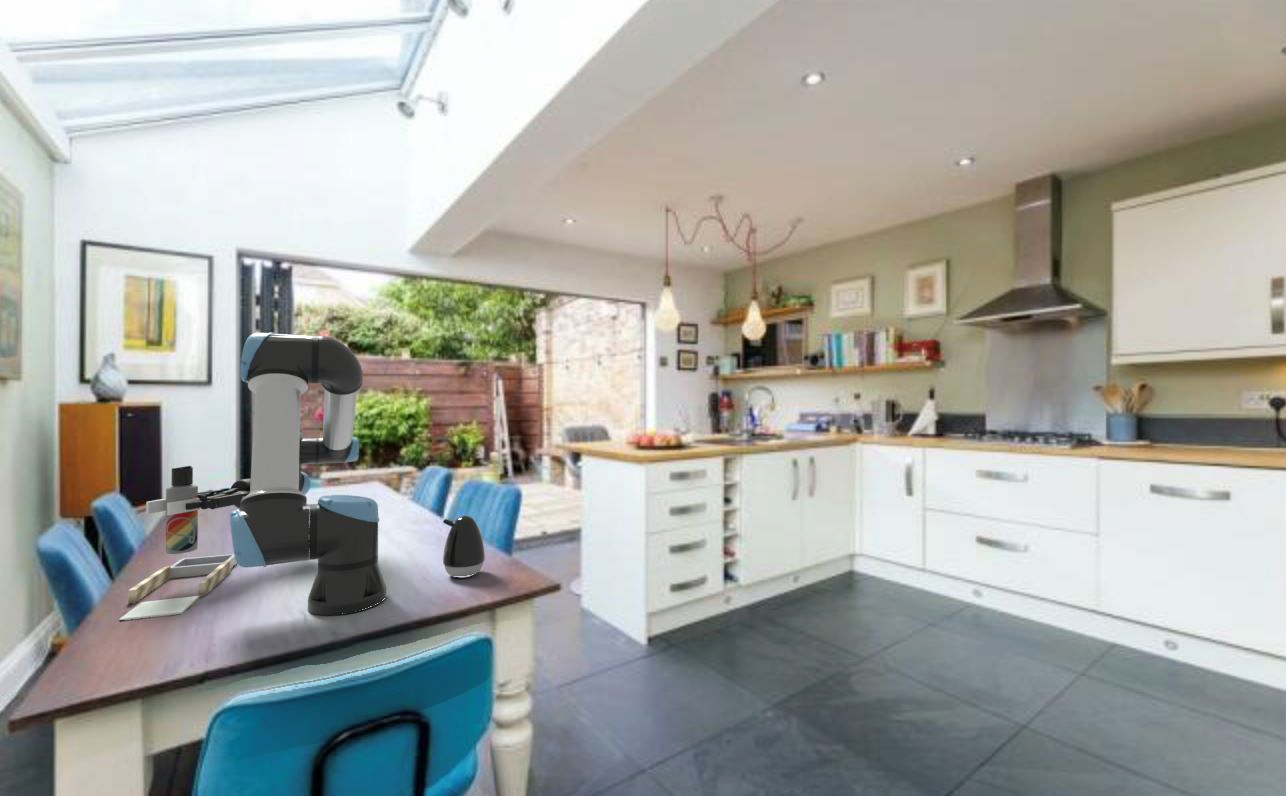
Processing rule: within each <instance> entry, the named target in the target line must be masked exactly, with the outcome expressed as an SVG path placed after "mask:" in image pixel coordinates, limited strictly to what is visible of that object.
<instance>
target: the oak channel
mask: <svg viewBox="0 0 1286 796" xmlns="http://www.w3.org/2000/svg"><path fill="white" fill-rule="evenodd" d="M170 567H171V565H167V566H163V567H162V568H160V569H158V570H157V571H156V572H154V573H152V574H151V575H149V576H148V577H146V578H145V579H143V580H142V581H140V582H138V583H137V584H135V585H134V586H133V587H131V588H130V589H128V596H127V597H128V599H127V600H128V603H133V604H136V602H137V601H138V602H139V601H141V600H143V599H144V598H145V597H147V596H148V595H149V594H150V593H152V592H153V591H155V590H156V589H157V588H159V587H160V586H162V585H163V584H165V583H166V582H167V581H168V580H170V579H171V578H170ZM230 573H231V569H230V561H224V562H223V563H222V564H221V565H219V566H218V567H217V568H216V569H215V570H214V571H212V572H211V573H210V574H208V575H205V577H204V578H203V579H202V580H200V581H199V582H198V595H197V596H200V597H205V596H206V595H207V594H209V592H211V591H212V590H213V589H214V588H215V587H216V586H217V585H218V584H219V583H221V581H223V580H224V579H225V578H226V577H227V576H228V575H229V574H230ZM154 589H155V590H154ZM151 591H152V592H151ZM147 594H148V595H147ZM144 596H145V597H144ZM143 597H144V598H143ZM140 599H141V600H140ZM138 602H137V603H138Z"/></svg>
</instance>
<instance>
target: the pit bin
mask: <svg viewBox="0 0 1286 796" xmlns="http://www.w3.org/2000/svg"><path fill="white" fill-rule="evenodd" d="M224 561H230V570H232V569H233V566H234V565H235V566H236V565H238V564H237V562H236V559H235V555H234V553H232V554H220V555H211V556H198V557H197V556H196V557H185V558H181V559H180V560H178V561H177V562H174V564H172V565H170V579H175V578H176V579H179V578H186V577H196V576H198V577H199V576H208V575H209V574H210V573H211V572H212V571H214V570H215V569H216V568H217V567H218V566H219V565H221V564H222V563H223V562H224ZM235 566H234V567H235Z"/></svg>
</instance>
